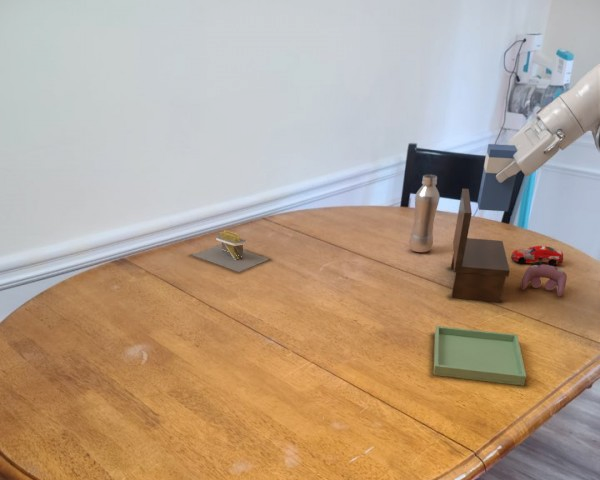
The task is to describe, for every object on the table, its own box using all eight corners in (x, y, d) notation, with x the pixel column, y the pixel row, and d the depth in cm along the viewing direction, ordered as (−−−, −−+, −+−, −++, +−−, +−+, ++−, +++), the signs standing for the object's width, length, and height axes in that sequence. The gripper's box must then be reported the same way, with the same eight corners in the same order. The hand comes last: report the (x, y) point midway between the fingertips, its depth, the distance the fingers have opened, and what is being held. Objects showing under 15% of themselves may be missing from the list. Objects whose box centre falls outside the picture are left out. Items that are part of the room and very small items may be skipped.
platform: (238, 272, 144) (237, 247, 140) (191, 255, 154) (189, 231, 150) (270, 259, 152) (269, 235, 148) (223, 243, 161) (221, 220, 157)
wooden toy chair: (495, 270, 147) (513, 191, 135) (502, 303, 131) (522, 216, 119) (448, 266, 149) (462, 188, 137) (449, 298, 133) (464, 212, 121)
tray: (515, 343, 116) (517, 334, 114) (523, 385, 103) (526, 376, 101) (434, 334, 118) (436, 325, 117) (433, 375, 105) (435, 365, 104)
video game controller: (561, 298, 137) (569, 269, 136) (562, 297, 133) (571, 267, 132) (519, 290, 140) (526, 262, 139) (519, 289, 136) (526, 260, 135)
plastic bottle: (402, 250, 158) (412, 175, 147) (418, 245, 162) (428, 172, 150) (420, 256, 154) (431, 180, 143) (436, 251, 158) (448, 176, 146)
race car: (511, 264, 151) (514, 249, 149) (508, 256, 155) (512, 242, 153) (563, 267, 149) (567, 252, 147) (559, 260, 154) (563, 245, 151)
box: (505, 204, 124) (518, 145, 117) (508, 211, 119) (521, 151, 112) (477, 202, 125) (488, 143, 118) (478, 209, 120) (490, 149, 113)
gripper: (576, 149, 104) (509, 200, 111) (557, 130, 120) (500, 175, 127) (557, 122, 102) (490, 175, 109) (540, 105, 118) (483, 153, 126)
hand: (495, 175), depth 118 cm, fingers closed on box, 5 cm apart
